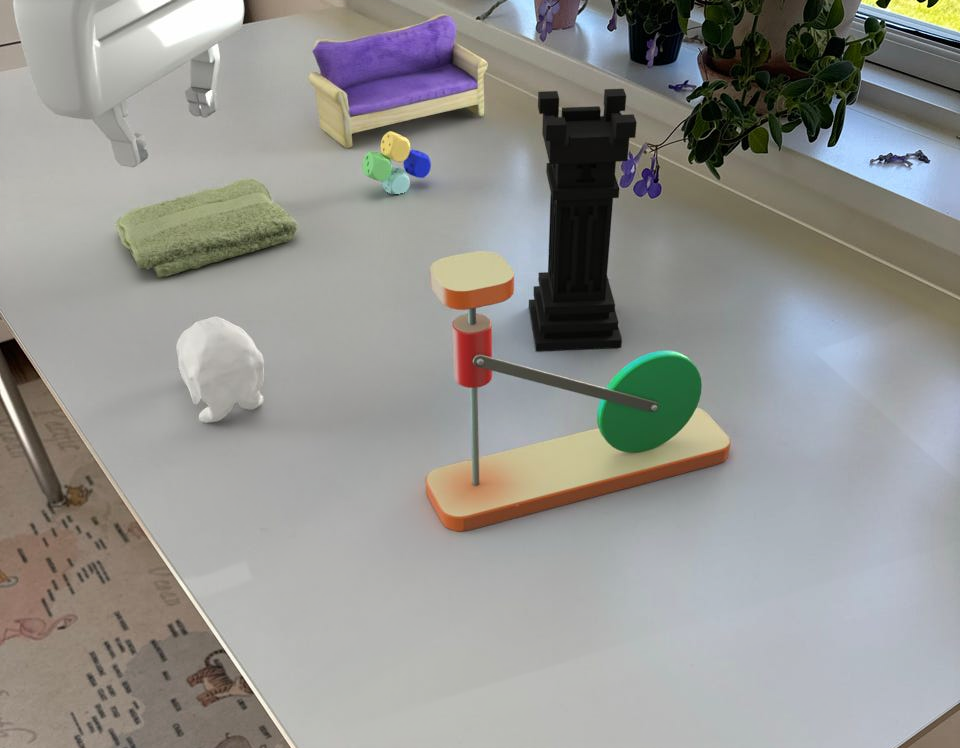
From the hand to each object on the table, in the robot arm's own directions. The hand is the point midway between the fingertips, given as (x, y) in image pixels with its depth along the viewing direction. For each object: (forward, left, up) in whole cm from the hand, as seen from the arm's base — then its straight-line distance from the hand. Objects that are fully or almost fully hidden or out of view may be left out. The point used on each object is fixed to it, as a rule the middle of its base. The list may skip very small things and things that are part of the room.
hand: (170, 137), depth 77 cm
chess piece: (+22, +24, -22) cm, 40 cm away
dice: (-9, +42, -22) cm, 49 cm away
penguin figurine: (-1, -1, -22) cm, 22 cm away
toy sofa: (-19, +59, -22) cm, 66 cm away
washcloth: (-21, +22, -22) cm, 38 cm away
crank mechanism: (+32, +4, -22) cm, 40 cm away
